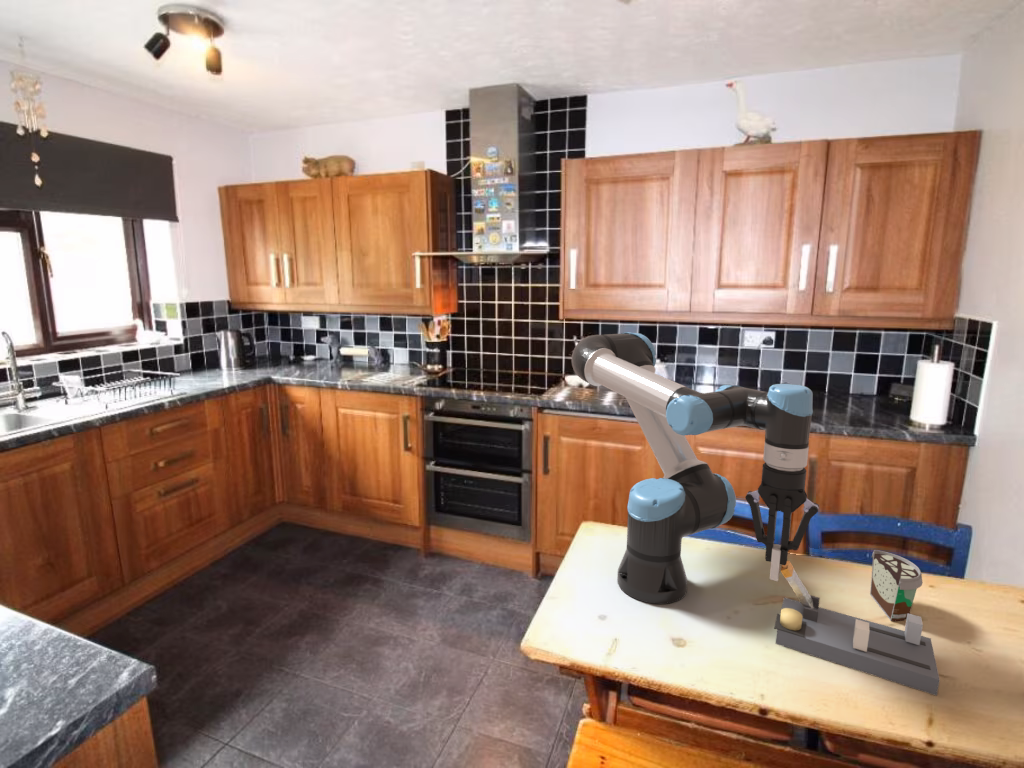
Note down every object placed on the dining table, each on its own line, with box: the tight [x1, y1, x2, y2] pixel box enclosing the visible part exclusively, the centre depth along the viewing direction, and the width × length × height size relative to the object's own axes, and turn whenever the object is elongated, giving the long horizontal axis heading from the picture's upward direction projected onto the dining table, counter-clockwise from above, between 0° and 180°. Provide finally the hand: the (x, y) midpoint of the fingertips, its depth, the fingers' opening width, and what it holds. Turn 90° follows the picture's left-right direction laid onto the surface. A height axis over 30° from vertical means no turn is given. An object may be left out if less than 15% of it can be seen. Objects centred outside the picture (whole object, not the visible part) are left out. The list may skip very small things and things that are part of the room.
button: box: [780, 608, 803, 631], centre depth 100 cm, size 4×4×2 cm
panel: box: [774, 594, 941, 696], centre depth 98 cm, size 24×12×5 cm, turn 58°
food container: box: [869, 549, 923, 623], centre depth 109 cm, size 12×6×10 cm, turn 168°
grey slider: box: [904, 613, 924, 645], centre depth 96 cm, size 2×3×4 cm
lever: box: [780, 560, 815, 609], centre depth 104 cm, size 1×4×10 cm
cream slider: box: [853, 619, 870, 652], centre depth 94 cm, size 2×3×4 cm
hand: (774, 577), depth 106 cm, fingers closed
